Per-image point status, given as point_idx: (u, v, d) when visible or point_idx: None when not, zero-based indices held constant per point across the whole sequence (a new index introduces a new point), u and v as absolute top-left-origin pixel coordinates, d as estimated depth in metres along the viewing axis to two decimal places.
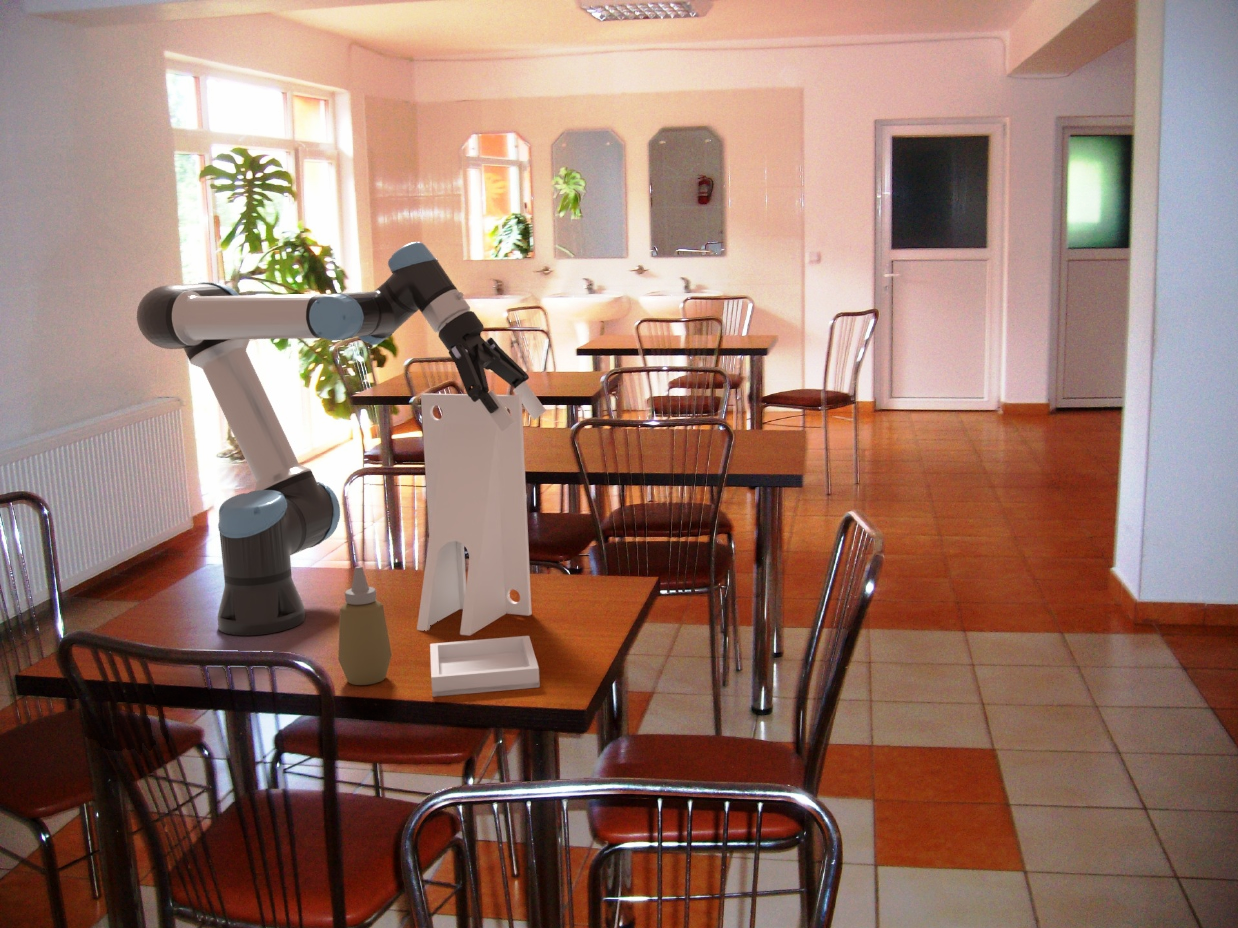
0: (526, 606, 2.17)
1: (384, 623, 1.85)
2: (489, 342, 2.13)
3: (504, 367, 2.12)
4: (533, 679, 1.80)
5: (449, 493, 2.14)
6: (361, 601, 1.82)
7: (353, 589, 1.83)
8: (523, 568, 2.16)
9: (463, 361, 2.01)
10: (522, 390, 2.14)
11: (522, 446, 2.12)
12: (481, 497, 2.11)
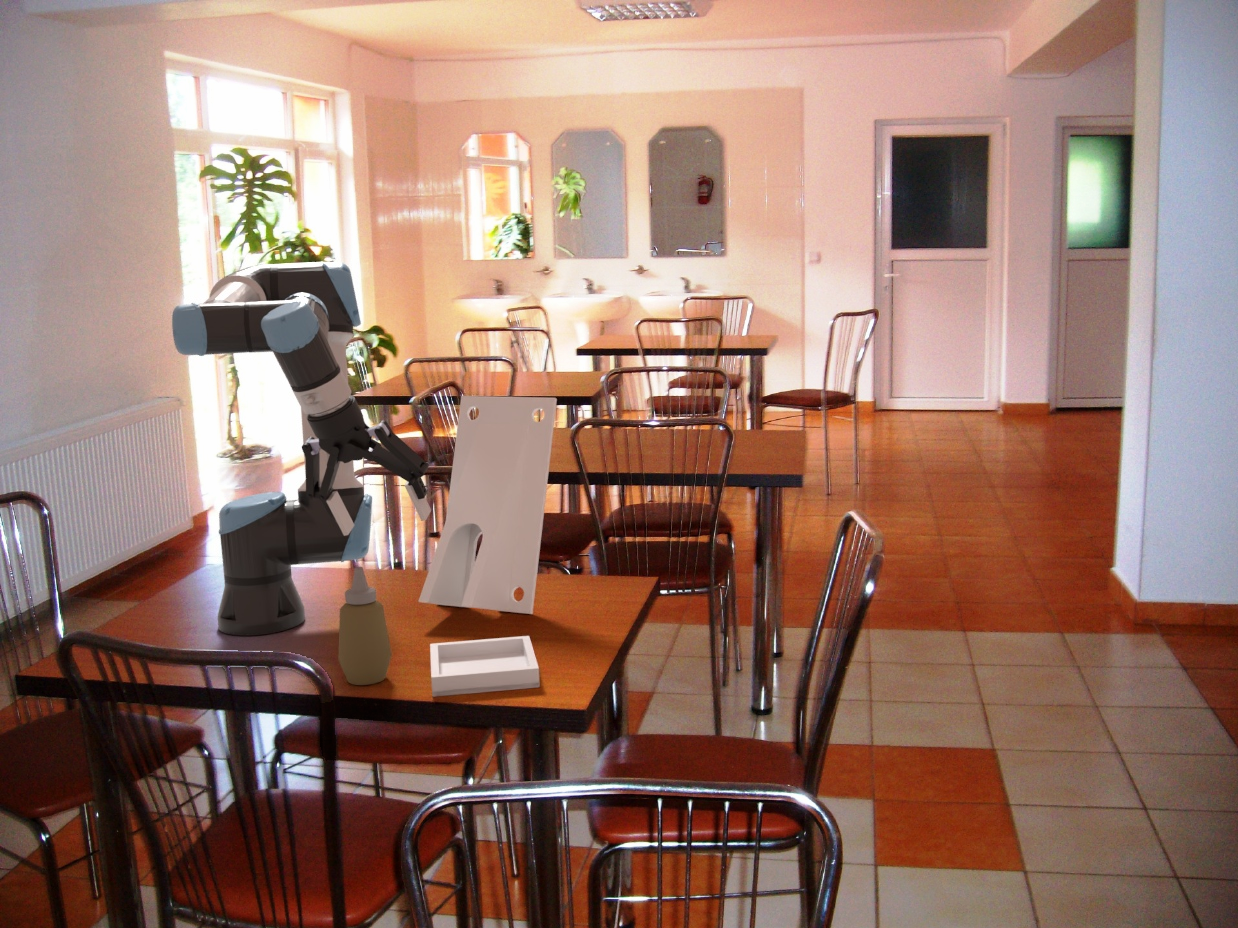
0: (528, 604, 2.17)
1: (384, 623, 1.85)
2: None
3: None
4: (533, 679, 1.80)
5: (473, 481, 2.21)
6: (361, 601, 1.82)
7: (353, 589, 1.83)
8: (532, 565, 2.18)
9: None
10: None
11: (550, 446, 2.22)
12: (503, 485, 2.18)
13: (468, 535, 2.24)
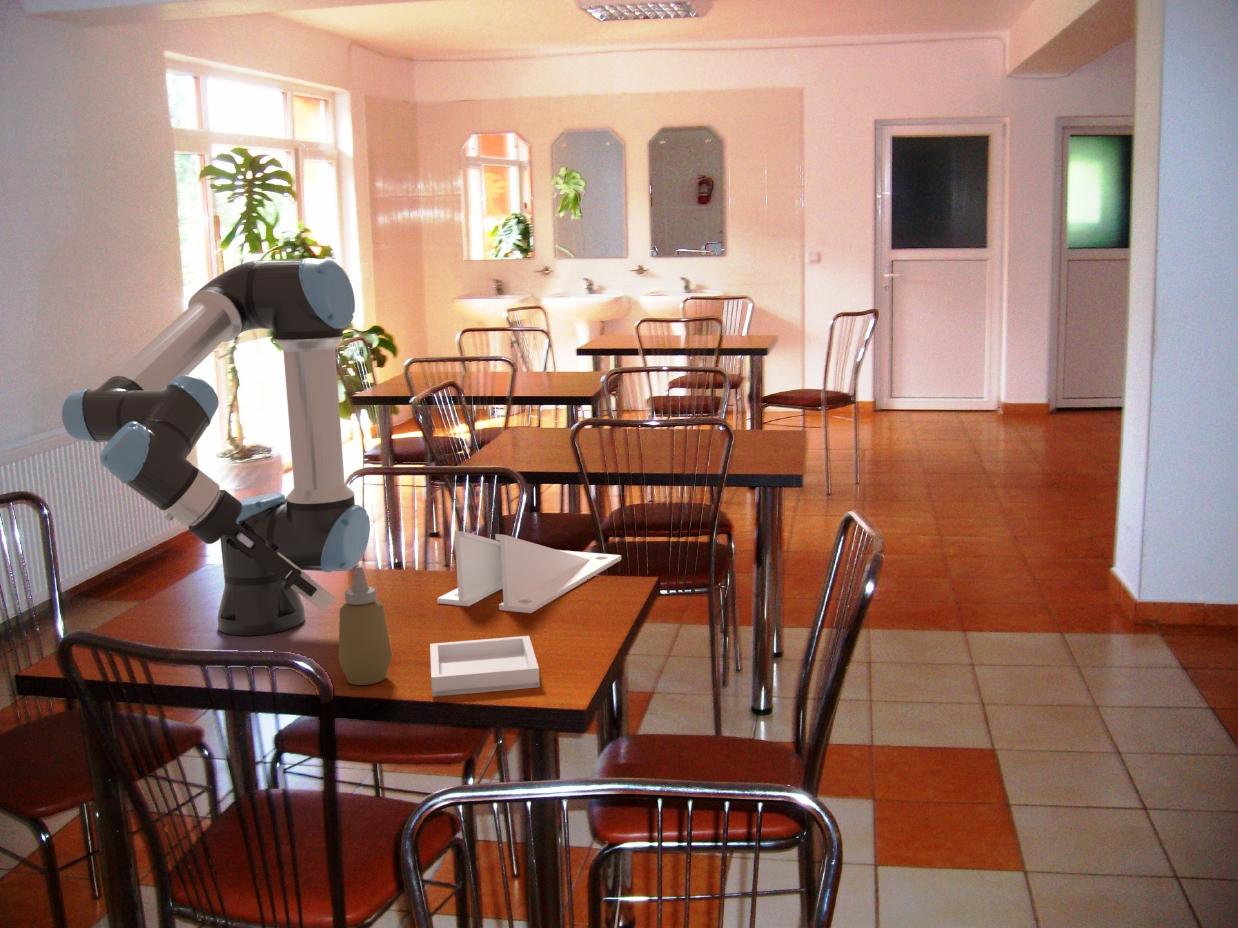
0: (533, 605, 2.20)
1: (384, 623, 1.85)
2: None
3: None
4: (533, 679, 1.80)
5: None
6: (361, 601, 1.82)
7: (353, 589, 1.83)
8: (549, 594, 2.26)
9: None
10: None
11: (603, 568, 2.46)
12: None
13: (498, 579, 2.36)
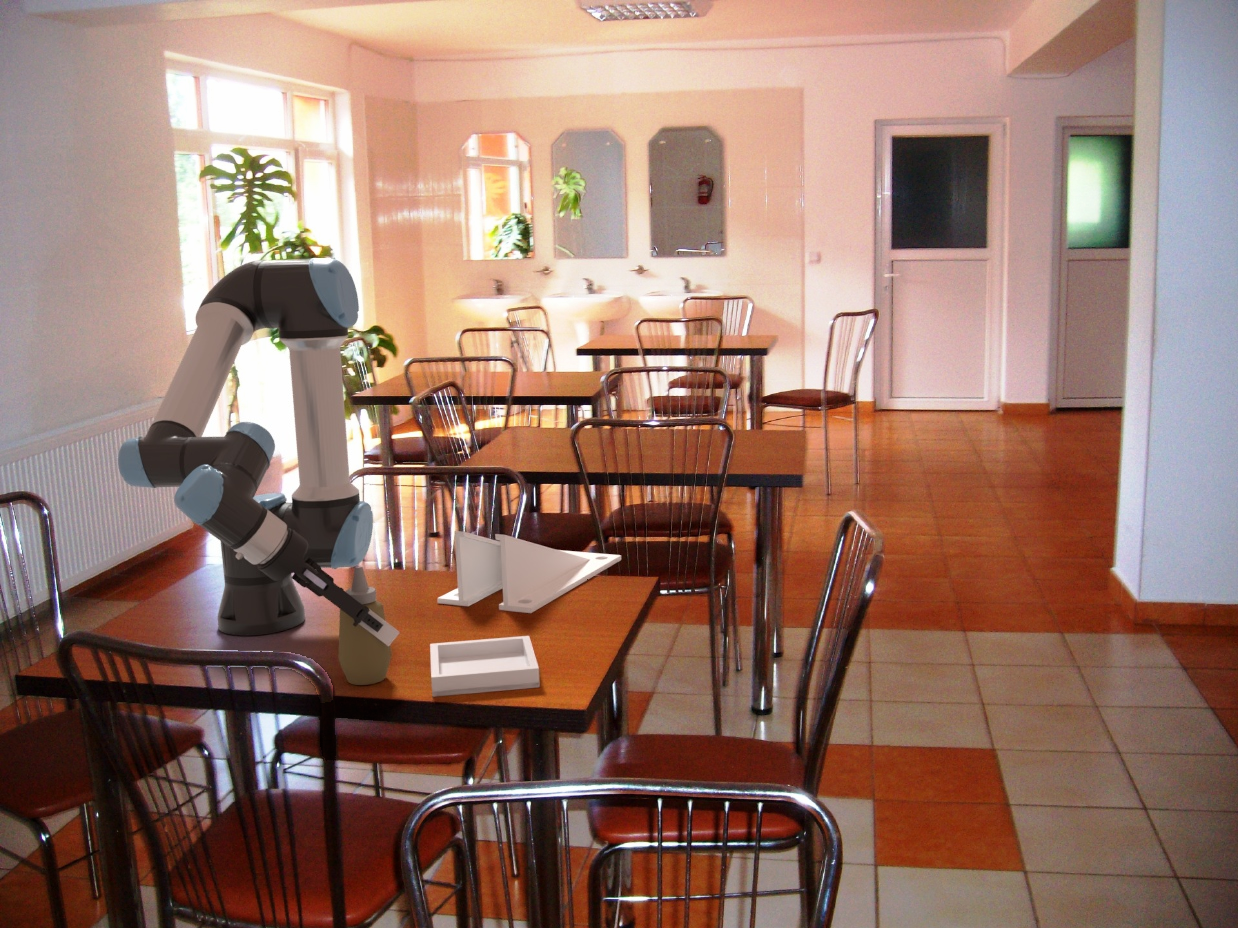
0: (533, 605, 2.20)
1: None
2: None
3: None
4: (533, 679, 1.80)
5: None
6: (361, 601, 1.82)
7: (353, 589, 1.83)
8: (549, 594, 2.26)
9: None
10: None
11: (603, 568, 2.46)
12: None
13: (498, 579, 2.36)
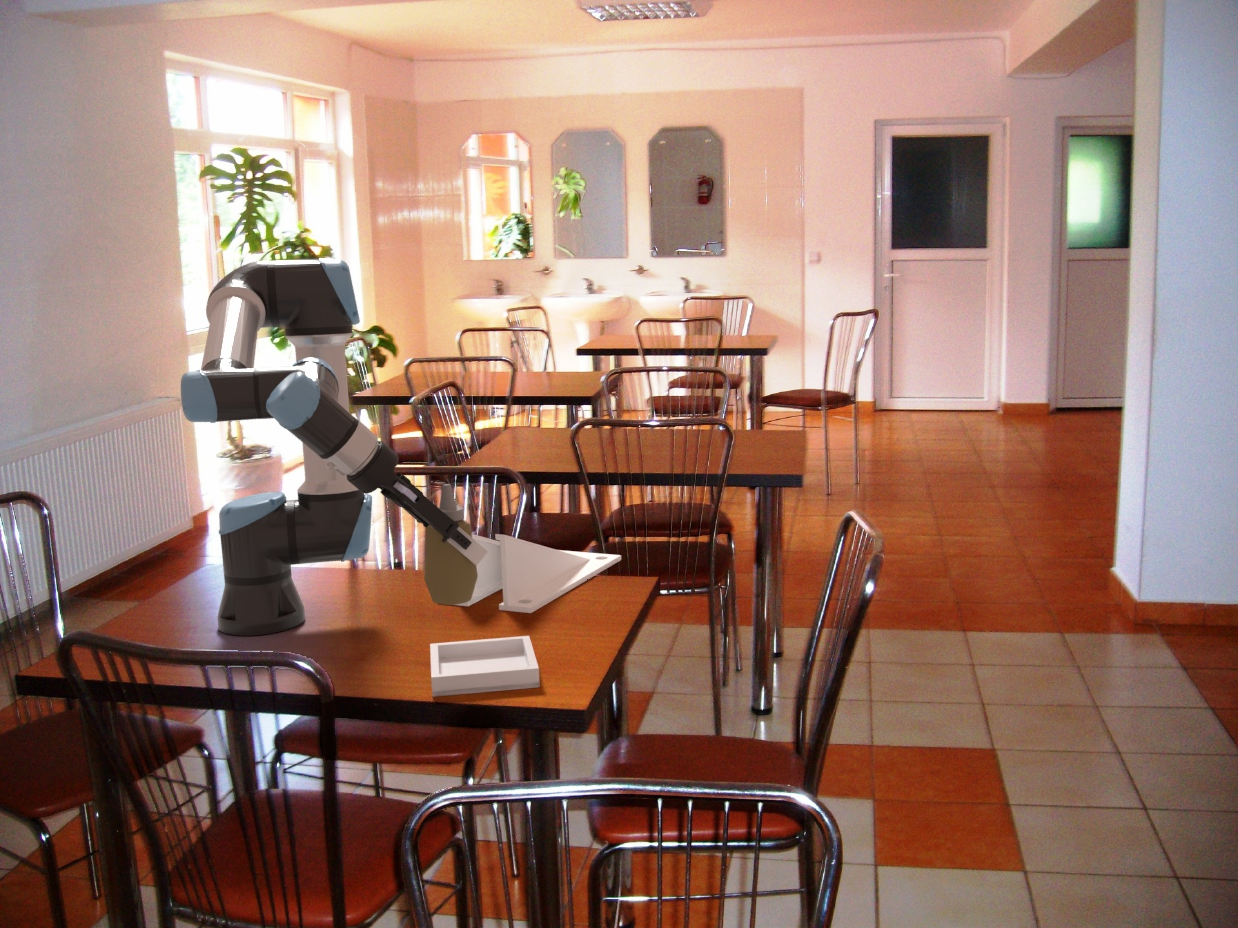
0: (533, 605, 2.20)
1: None
2: None
3: None
4: (533, 679, 1.80)
5: None
6: None
7: (441, 507, 1.80)
8: (549, 594, 2.26)
9: None
10: None
11: (603, 568, 2.46)
12: None
13: (498, 579, 2.36)
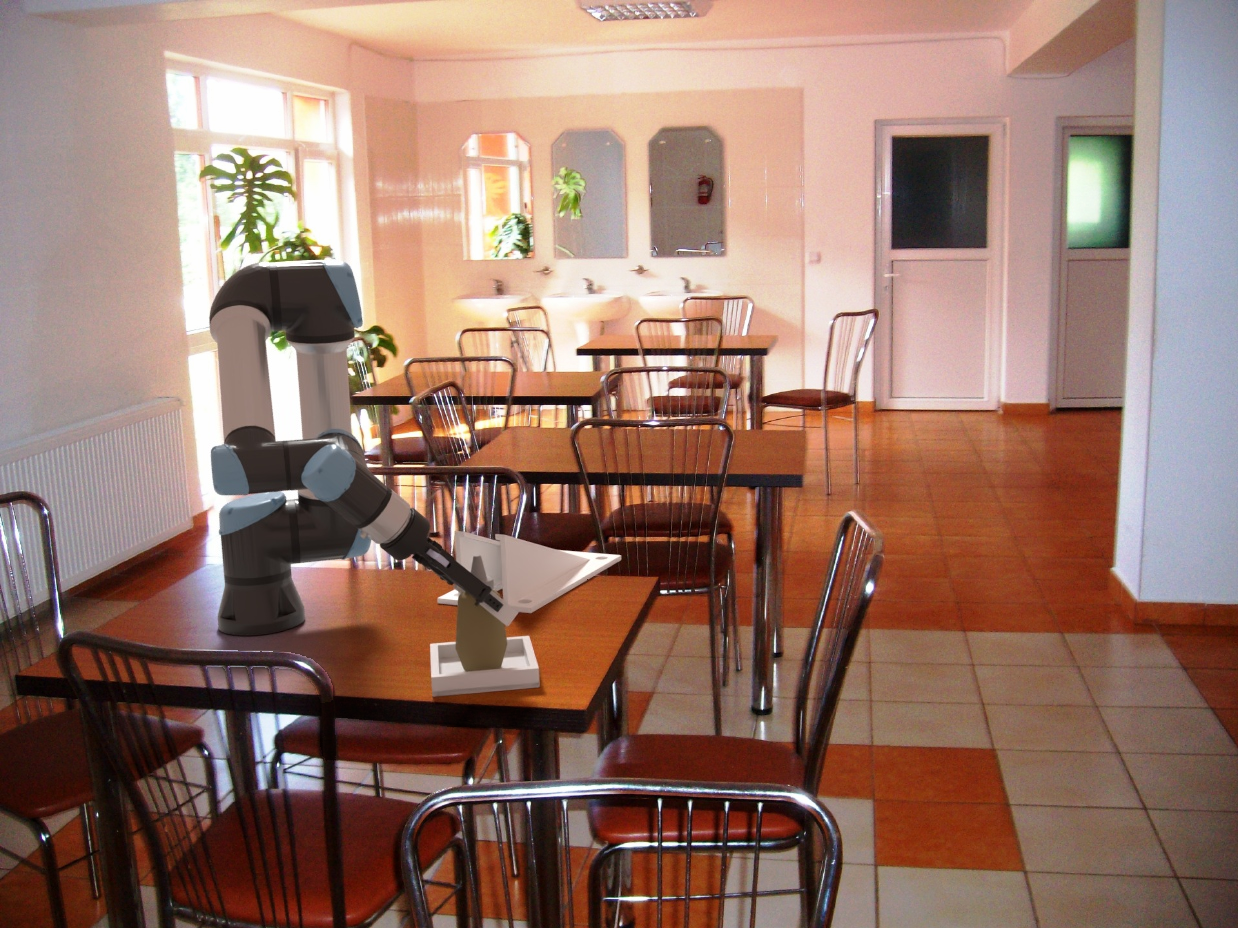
0: (533, 605, 2.20)
1: None
2: None
3: None
4: (533, 679, 1.80)
5: None
6: None
7: None
8: (549, 594, 2.26)
9: None
10: None
11: (603, 568, 2.46)
12: None
13: (498, 579, 2.36)
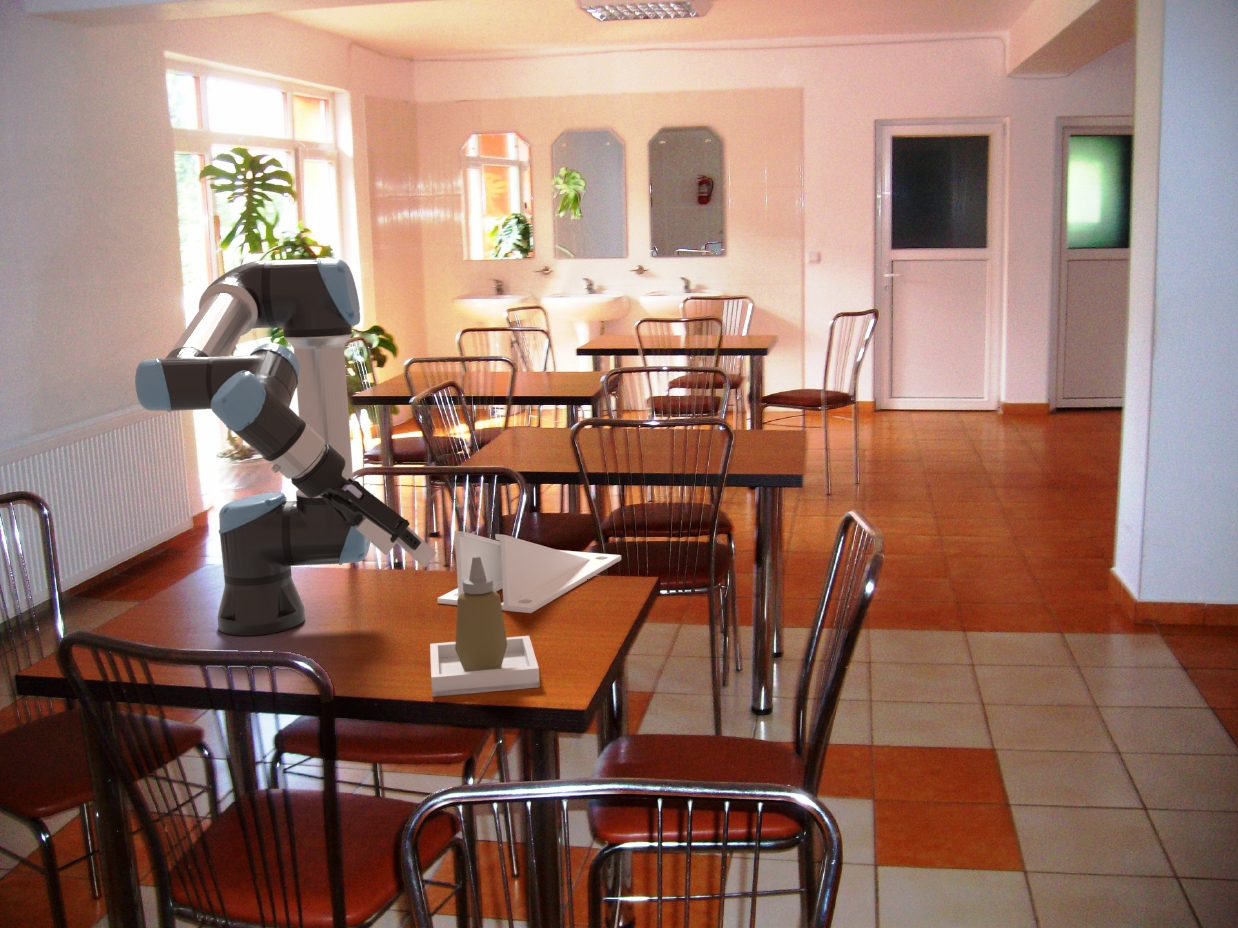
0: (533, 605, 2.20)
1: (501, 613, 1.85)
2: None
3: None
4: (533, 679, 1.80)
5: None
6: (480, 591, 1.82)
7: (471, 579, 1.83)
8: (549, 594, 2.26)
9: None
10: None
11: (603, 568, 2.46)
12: None
13: (498, 579, 2.36)
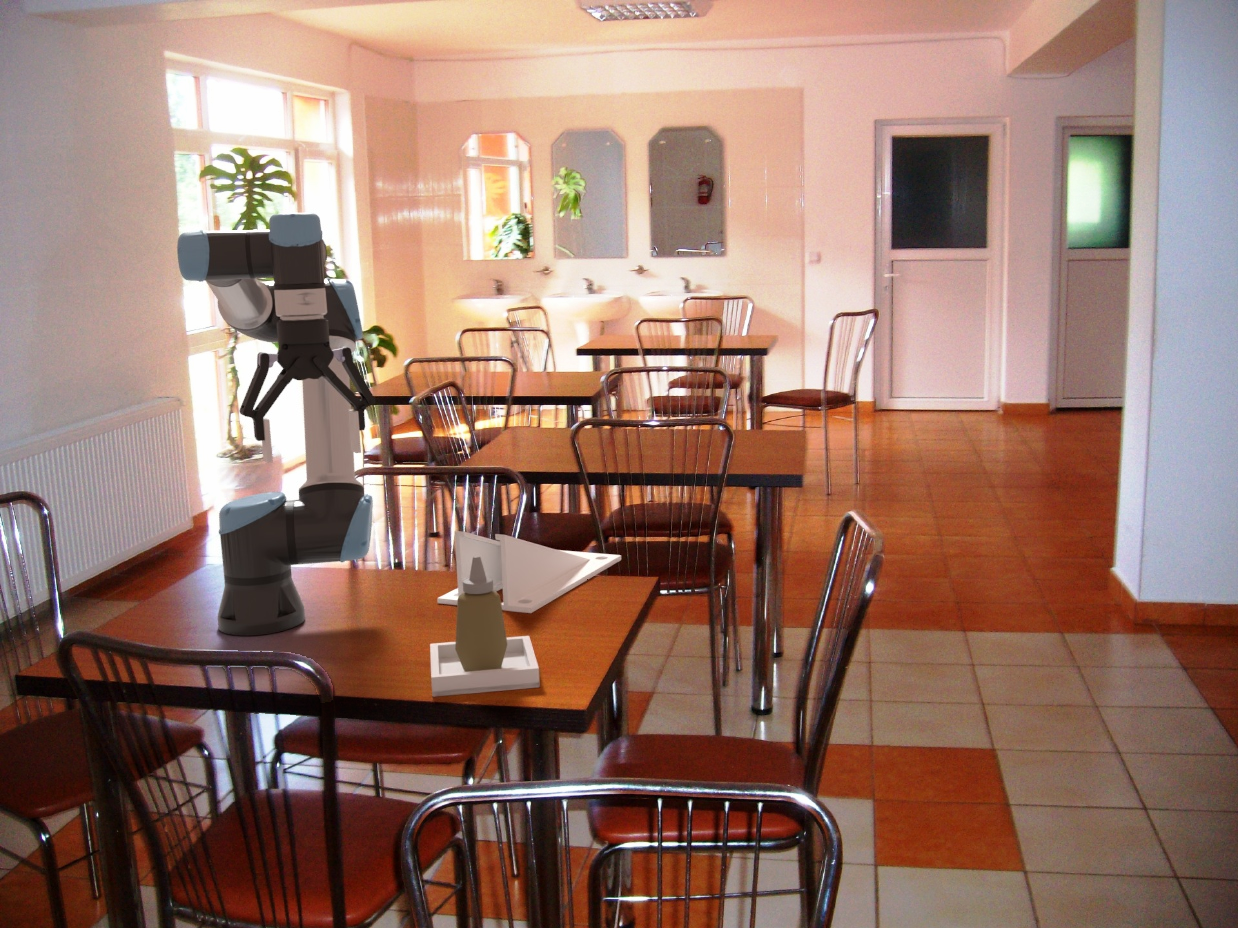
0: (533, 605, 2.20)
1: (501, 613, 1.85)
2: (342, 352, 1.84)
3: (337, 388, 1.84)
4: (533, 679, 1.80)
5: None
6: (480, 591, 1.83)
7: (471, 579, 1.84)
8: (549, 594, 2.26)
9: (256, 374, 1.78)
10: (351, 417, 1.86)
11: (603, 568, 2.46)
12: None
13: (498, 579, 2.36)
